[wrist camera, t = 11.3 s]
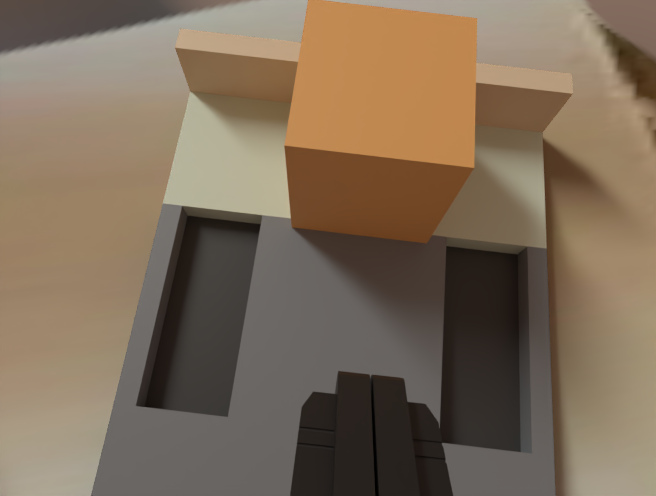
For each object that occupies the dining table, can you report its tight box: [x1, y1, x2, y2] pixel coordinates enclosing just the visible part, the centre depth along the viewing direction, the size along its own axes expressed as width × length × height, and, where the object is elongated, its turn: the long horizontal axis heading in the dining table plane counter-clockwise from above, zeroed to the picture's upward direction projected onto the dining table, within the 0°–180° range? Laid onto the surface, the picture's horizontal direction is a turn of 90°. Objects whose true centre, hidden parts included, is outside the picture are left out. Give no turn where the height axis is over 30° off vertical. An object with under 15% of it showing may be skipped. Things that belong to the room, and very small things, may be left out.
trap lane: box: [91, 29, 573, 496], centre depth 23 cm, size 29×20×5 cm
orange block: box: [284, 0, 477, 243], centre depth 24 cm, size 7×7×8 cm
